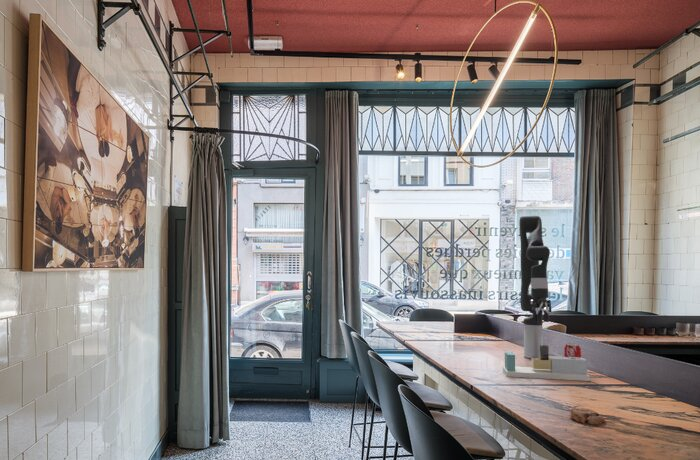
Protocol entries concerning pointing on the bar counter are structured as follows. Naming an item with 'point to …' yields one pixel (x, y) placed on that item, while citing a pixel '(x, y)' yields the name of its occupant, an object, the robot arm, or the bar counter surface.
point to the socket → (509, 361)
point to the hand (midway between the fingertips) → (541, 322)
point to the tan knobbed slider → (542, 359)
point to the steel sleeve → (568, 365)
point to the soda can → (572, 350)
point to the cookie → (586, 416)
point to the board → (543, 374)
